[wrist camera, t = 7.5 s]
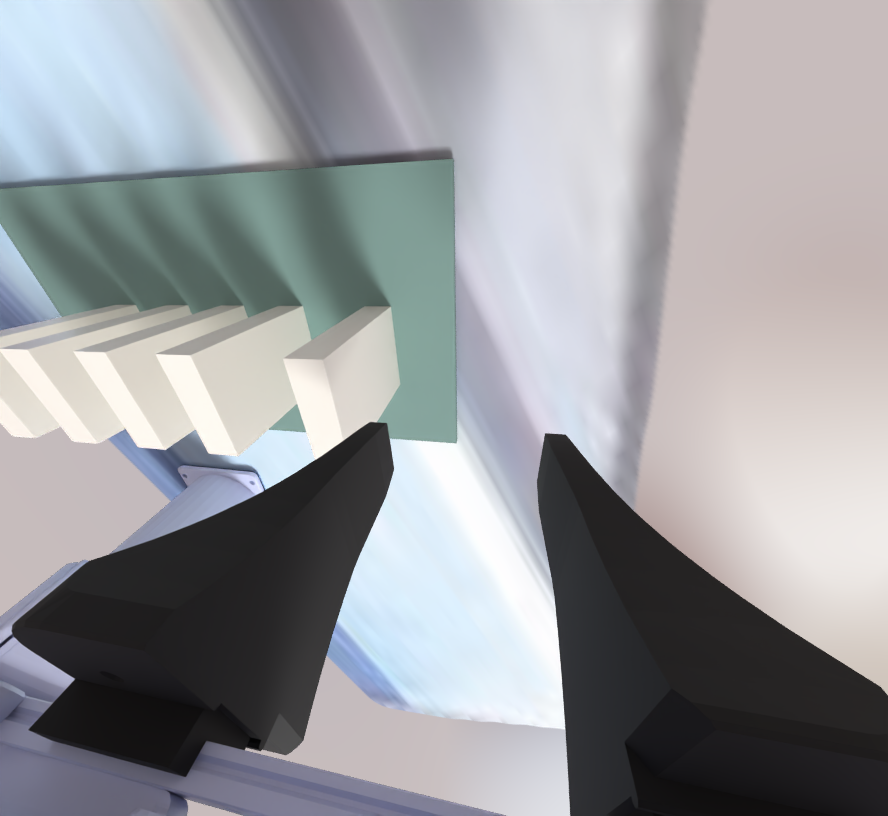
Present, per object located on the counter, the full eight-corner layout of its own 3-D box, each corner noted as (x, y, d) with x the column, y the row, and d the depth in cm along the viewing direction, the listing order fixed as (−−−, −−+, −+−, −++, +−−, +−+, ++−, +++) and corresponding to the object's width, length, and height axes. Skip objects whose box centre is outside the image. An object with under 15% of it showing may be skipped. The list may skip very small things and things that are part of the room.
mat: (457, 439, 23) (456, 443, 22) (133, 416, 27) (129, 419, 26) (454, 160, 14) (452, 158, 14) (-12, 190, 19) (-22, 190, 18)
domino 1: (219, 376, 23) (98, 443, 16) (200, 375, 23) (73, 441, 16) (187, 305, 20) (27, 349, 13) (166, 305, 20) (-3, 348, 13)
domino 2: (269, 378, 22) (165, 449, 15) (249, 377, 22) (138, 447, 15) (243, 305, 19) (105, 352, 13) (220, 305, 20) (72, 351, 13)
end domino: (172, 374, 23) (35, 438, 16) (153, 373, 23) (12, 436, 17) (135, 304, 21) (-44, 347, 14) (115, 304, 21) (-71, 346, 14)
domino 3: (322, 380, 21) (238, 456, 15) (300, 379, 22) (208, 453, 15) (302, 306, 19) (190, 355, 12) (278, 305, 19) (155, 354, 12)
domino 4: (400, 384, 20) (349, 465, 14) (377, 383, 21) (316, 463, 14) (390, 306, 18) (323, 359, 11) (364, 306, 18) (282, 358, 11)
